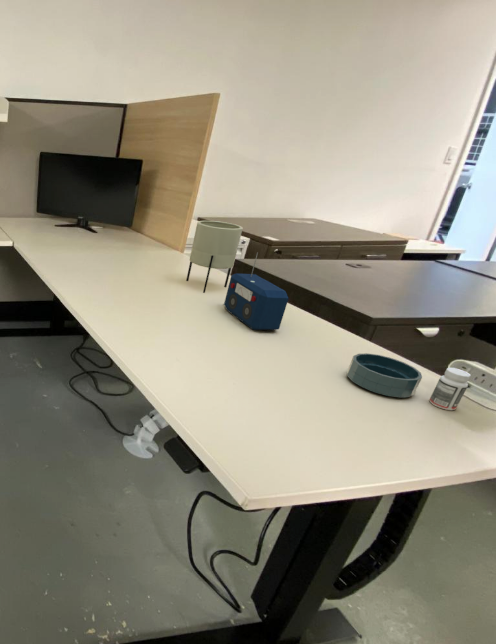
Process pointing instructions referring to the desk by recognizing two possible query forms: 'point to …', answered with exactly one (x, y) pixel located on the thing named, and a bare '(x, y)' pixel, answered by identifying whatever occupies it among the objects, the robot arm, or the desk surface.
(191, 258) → the planter
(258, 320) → the radio
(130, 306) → the desk surface
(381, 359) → the bowl
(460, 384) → the pill bottle
